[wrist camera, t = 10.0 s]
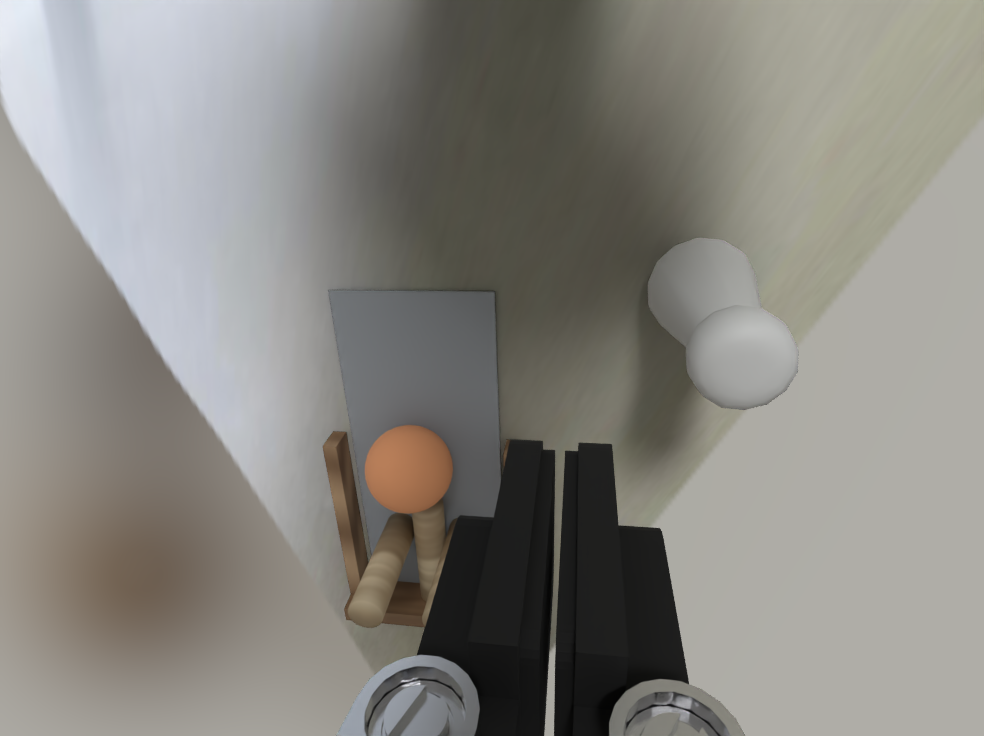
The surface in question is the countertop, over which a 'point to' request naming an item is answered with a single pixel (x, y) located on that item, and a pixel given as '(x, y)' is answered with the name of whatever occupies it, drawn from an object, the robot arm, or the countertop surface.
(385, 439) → the ball
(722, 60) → the countertop surface
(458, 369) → the plate
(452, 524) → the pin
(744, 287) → the salt shaker
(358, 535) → the lane rail
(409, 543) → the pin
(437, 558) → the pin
